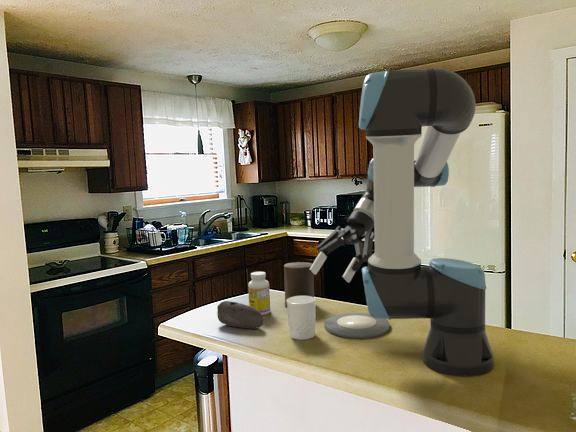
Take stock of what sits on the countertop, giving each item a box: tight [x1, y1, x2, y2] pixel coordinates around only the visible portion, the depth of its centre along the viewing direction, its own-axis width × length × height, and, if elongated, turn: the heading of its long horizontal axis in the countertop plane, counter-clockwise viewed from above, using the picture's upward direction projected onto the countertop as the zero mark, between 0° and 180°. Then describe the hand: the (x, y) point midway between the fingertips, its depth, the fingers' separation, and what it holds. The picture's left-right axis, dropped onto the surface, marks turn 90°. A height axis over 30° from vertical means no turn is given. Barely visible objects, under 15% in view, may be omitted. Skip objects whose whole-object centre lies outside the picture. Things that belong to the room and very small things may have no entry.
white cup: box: [286, 296, 317, 341], centre depth 129 cm, size 8×8×10 cm
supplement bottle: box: [247, 271, 271, 316], centre depth 150 cm, size 7×7×13 cm
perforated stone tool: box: [216, 300, 264, 330], centre depth 138 cm, size 15×5×7 cm, turn 58°
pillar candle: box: [283, 261, 315, 308], centre depth 157 cm, size 10×10×15 cm
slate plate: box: [324, 312, 390, 339], centre depth 134 cm, size 18×18×2 cm
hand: (328, 275), depth 134 cm, fingers open, 13 cm apart
